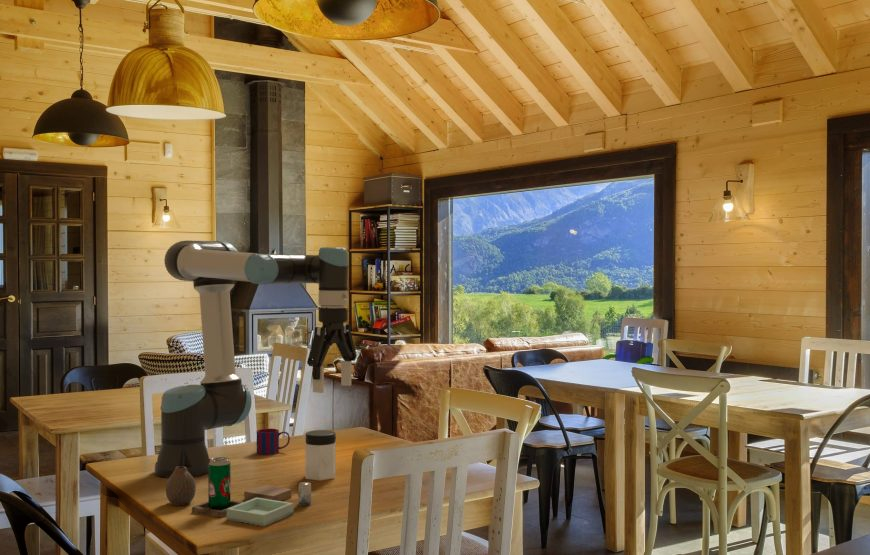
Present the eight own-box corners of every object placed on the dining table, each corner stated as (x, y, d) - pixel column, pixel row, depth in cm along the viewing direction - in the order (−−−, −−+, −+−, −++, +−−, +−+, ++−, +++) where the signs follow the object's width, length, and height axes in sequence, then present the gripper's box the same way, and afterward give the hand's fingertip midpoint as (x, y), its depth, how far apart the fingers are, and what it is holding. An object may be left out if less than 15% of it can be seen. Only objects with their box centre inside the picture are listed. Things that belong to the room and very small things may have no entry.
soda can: (206, 508, 201) (206, 457, 201) (228, 506, 203) (228, 455, 203) (210, 514, 196) (210, 462, 196) (232, 511, 198) (232, 460, 198)
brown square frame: (192, 512, 197) (192, 507, 197) (217, 502, 205) (217, 497, 205) (221, 517, 193) (221, 512, 193) (246, 507, 201) (246, 502, 201)
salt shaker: (295, 505, 204) (295, 484, 203) (303, 502, 206) (303, 481, 206) (306, 506, 202) (306, 485, 202) (313, 503, 205) (313, 483, 205)
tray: (226, 519, 192) (226, 508, 192) (256, 508, 201) (256, 497, 201) (264, 526, 187) (264, 515, 187) (293, 514, 196) (293, 503, 196)
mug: (258, 450, 264) (258, 428, 264) (291, 450, 264) (291, 428, 264) (254, 455, 257) (254, 432, 257) (287, 455, 257) (287, 432, 257)
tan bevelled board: (244, 501, 208) (244, 491, 208) (262, 494, 214) (262, 484, 214) (273, 506, 204) (273, 496, 204) (291, 499, 210) (291, 489, 210)
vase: (167, 508, 200) (167, 471, 200) (164, 501, 207) (164, 465, 206) (197, 505, 203) (197, 469, 203) (193, 498, 209) (193, 462, 209)
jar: (312, 482, 225) (312, 437, 225) (299, 475, 232) (299, 432, 232) (342, 477, 230) (342, 433, 230) (328, 471, 237) (328, 428, 237)
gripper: (319, 309, 207) (318, 396, 207) (369, 305, 229) (369, 383, 230) (293, 308, 210) (292, 394, 210) (345, 304, 233) (345, 381, 233)
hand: (332, 388), depth 220 cm, fingers open, 13 cm apart
